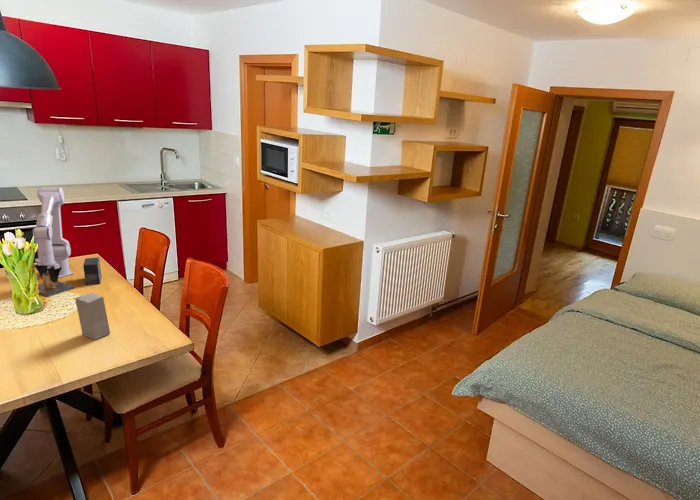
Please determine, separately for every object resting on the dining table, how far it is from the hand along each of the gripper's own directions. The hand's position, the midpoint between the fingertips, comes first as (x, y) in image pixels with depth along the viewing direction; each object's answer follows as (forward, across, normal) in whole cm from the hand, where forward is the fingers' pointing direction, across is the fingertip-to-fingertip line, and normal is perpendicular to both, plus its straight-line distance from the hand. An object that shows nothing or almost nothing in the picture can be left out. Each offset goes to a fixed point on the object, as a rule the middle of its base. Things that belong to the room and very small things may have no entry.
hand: (49, 280), depth 204 cm
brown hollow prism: (+3, 0, 0) cm, 3 cm away
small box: (+5, +6, +17) cm, 19 cm away
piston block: (+4, 0, 0) cm, 4 cm away
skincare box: (+5, +55, -18) cm, 58 cm away
